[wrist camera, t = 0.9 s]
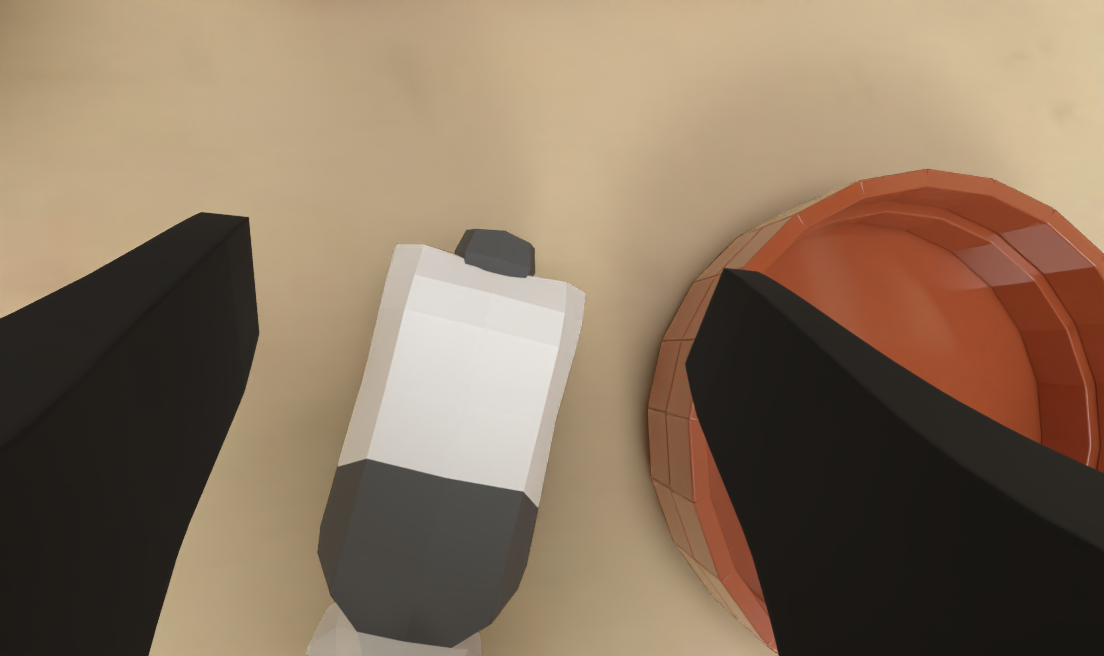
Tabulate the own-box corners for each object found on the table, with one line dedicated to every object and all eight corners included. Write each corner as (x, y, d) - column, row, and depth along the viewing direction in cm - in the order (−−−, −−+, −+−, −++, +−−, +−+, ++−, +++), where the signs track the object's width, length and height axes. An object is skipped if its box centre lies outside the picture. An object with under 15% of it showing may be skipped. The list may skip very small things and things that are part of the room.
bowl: (1041, 653, 26) (1163, 714, 22) (623, 646, 23) (666, 716, 19) (1060, 230, 27) (1181, 206, 23) (660, 175, 24) (709, 135, 20)
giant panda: (409, 243, 23) (384, 165, 13) (562, 283, 23) (641, 238, 14) (298, 669, 22) (186, 916, 12) (463, 694, 22) (477, 945, 13)
